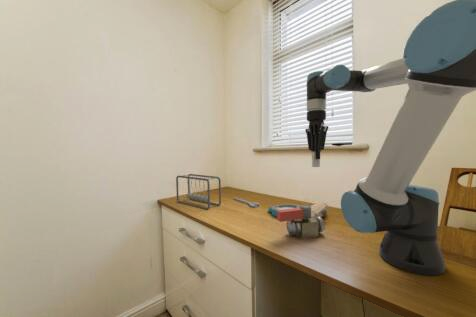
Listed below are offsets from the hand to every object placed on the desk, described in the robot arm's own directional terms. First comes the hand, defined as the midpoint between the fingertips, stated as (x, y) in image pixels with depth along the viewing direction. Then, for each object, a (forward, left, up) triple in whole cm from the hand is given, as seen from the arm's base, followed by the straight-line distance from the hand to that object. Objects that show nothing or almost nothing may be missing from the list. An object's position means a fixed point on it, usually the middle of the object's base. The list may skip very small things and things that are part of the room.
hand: (315, 166), depth 87 cm
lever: (-5, +13, -19) cm, 24 cm away
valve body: (-5, +8, -26) cm, 28 cm away
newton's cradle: (+52, +48, -27) cm, 76 cm away
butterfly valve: (+16, +1, -27) cm, 31 cm away
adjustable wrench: (+47, +18, -27) cm, 57 cm away
